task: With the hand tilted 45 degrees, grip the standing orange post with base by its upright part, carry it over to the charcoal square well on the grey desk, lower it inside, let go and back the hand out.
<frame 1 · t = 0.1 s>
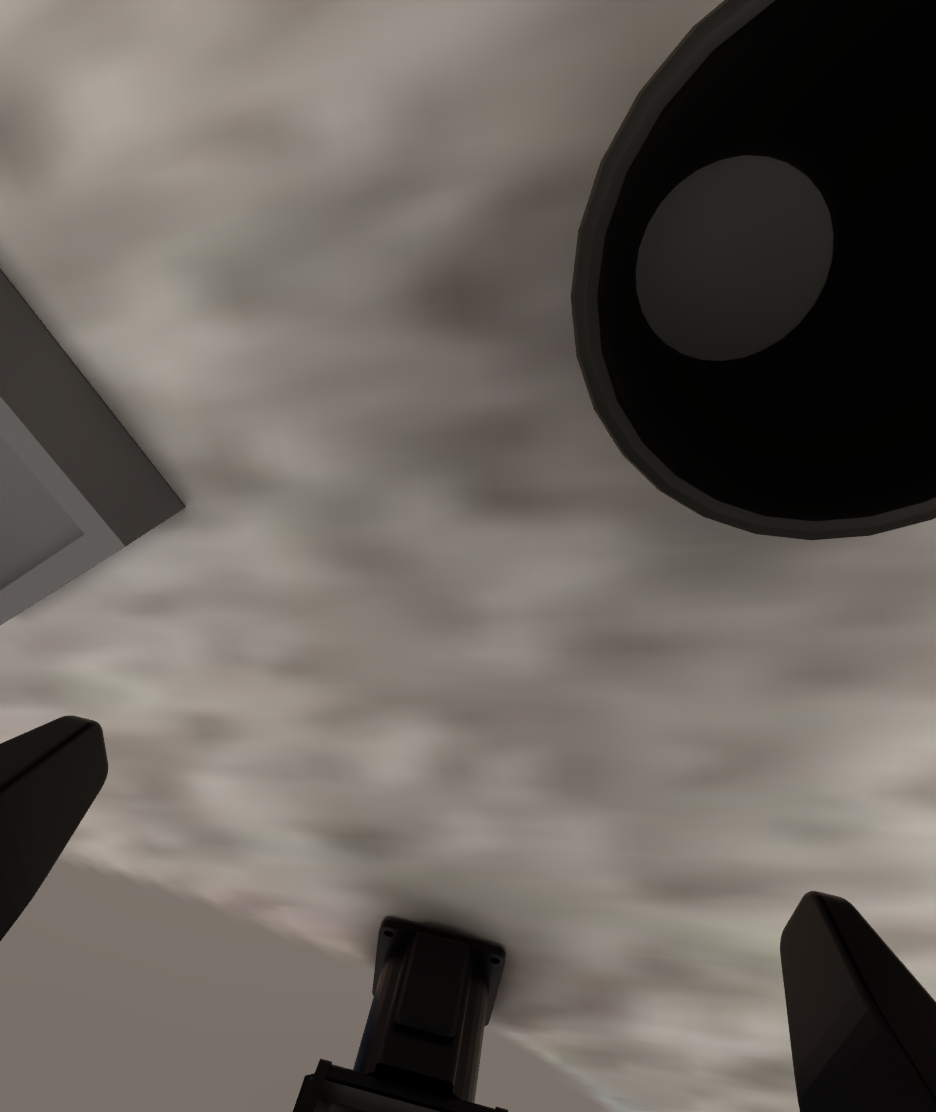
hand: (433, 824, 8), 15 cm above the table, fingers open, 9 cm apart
mug: (778, 307, 18), on the table
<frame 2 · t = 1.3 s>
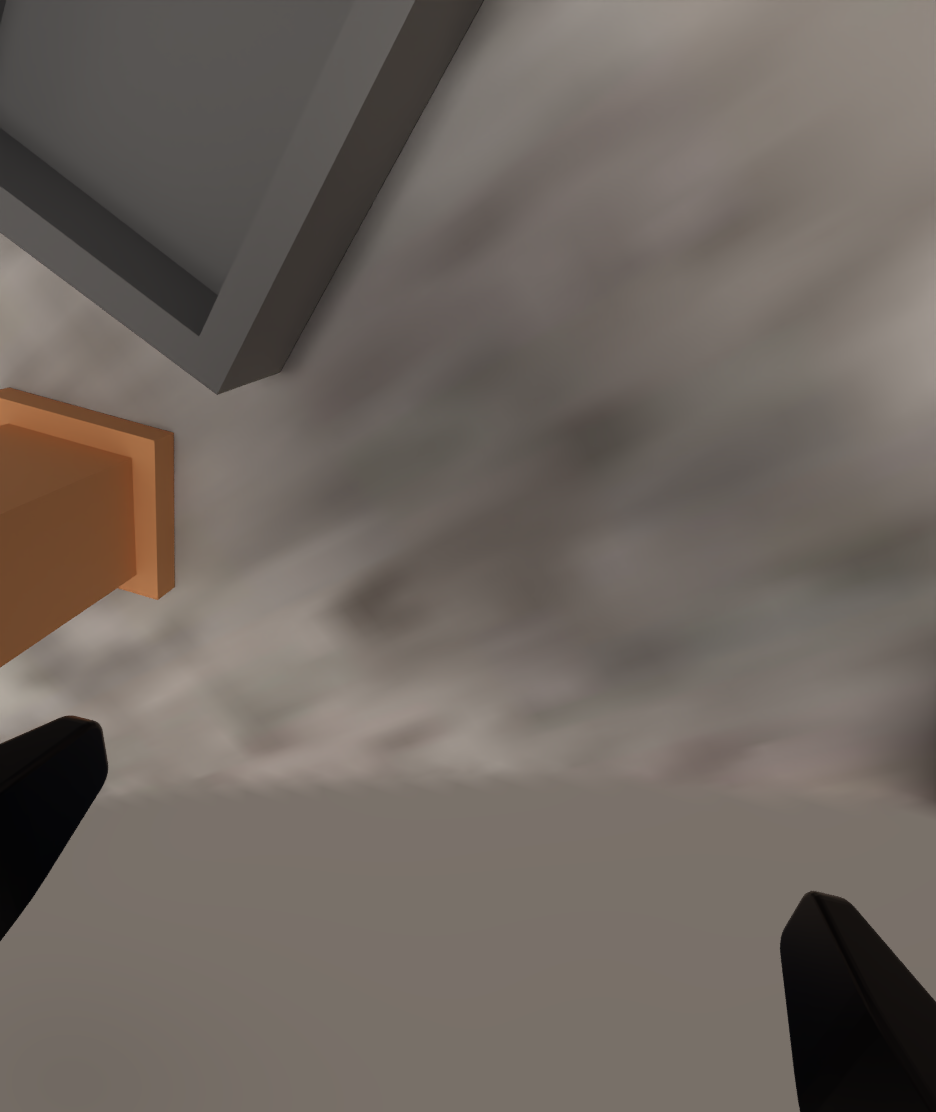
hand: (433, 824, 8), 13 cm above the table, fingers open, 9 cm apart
well: (197, 60, 16), on the table
orange post with base: (95, 492, 22), on the table
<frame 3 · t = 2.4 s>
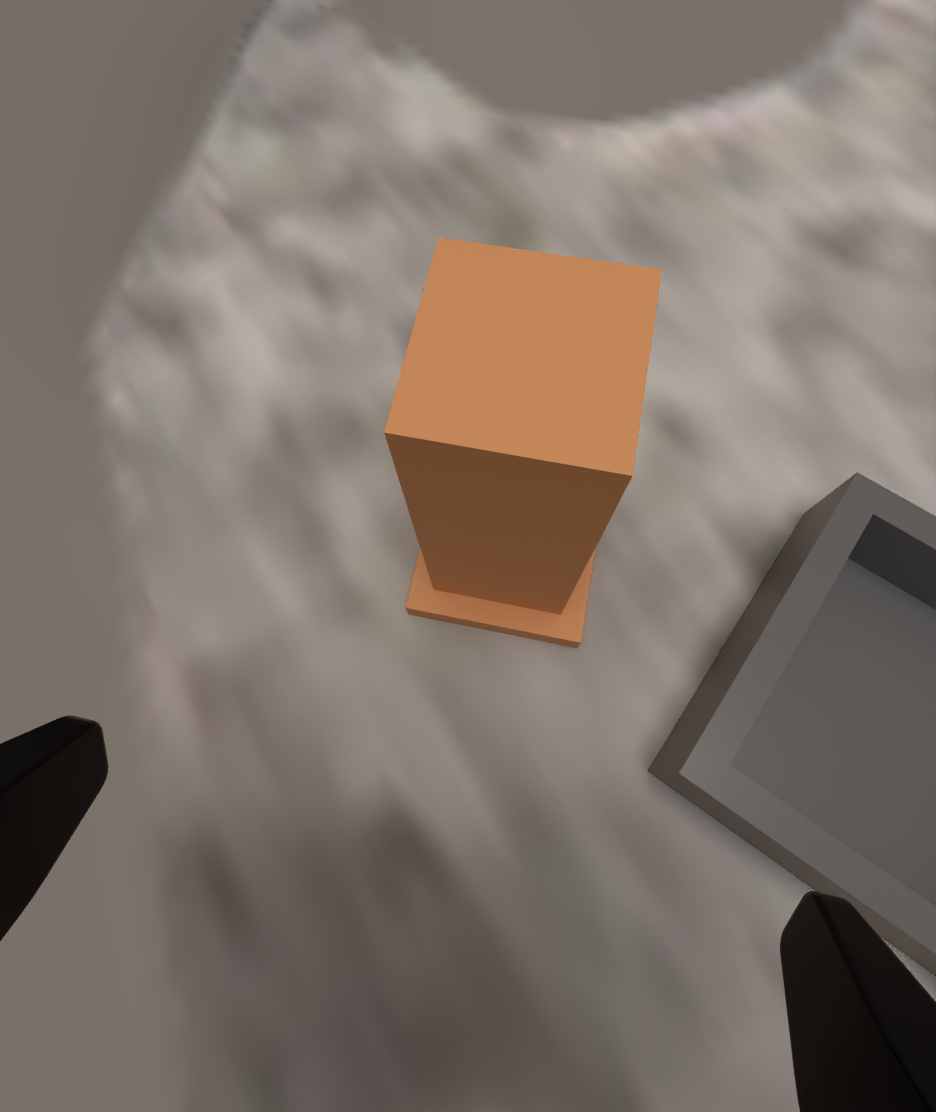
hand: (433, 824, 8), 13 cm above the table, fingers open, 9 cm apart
well: (880, 731, 21), on the table
orange post with base: (507, 550, 23), on the table
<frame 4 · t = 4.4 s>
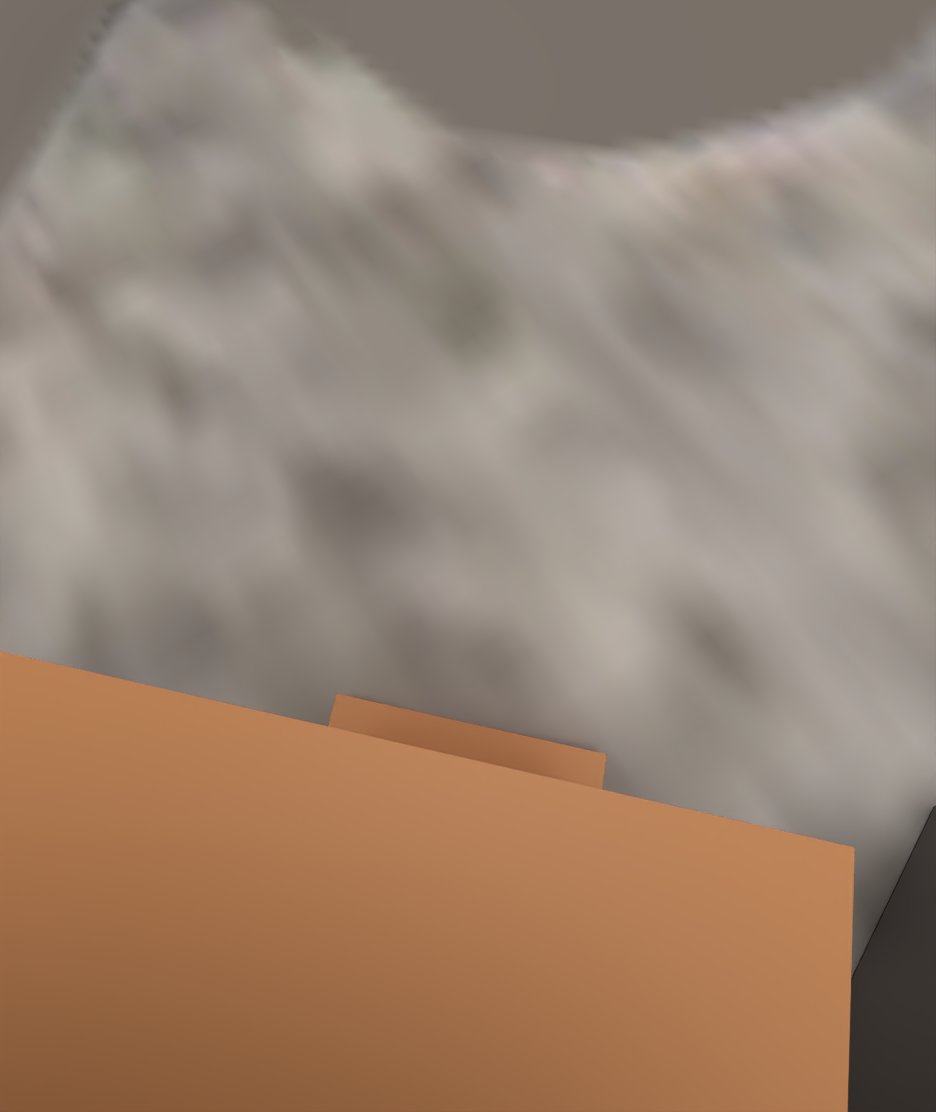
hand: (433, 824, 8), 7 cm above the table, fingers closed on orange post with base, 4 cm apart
orange post with base: (440, 865, 14), on the table, touching gripper
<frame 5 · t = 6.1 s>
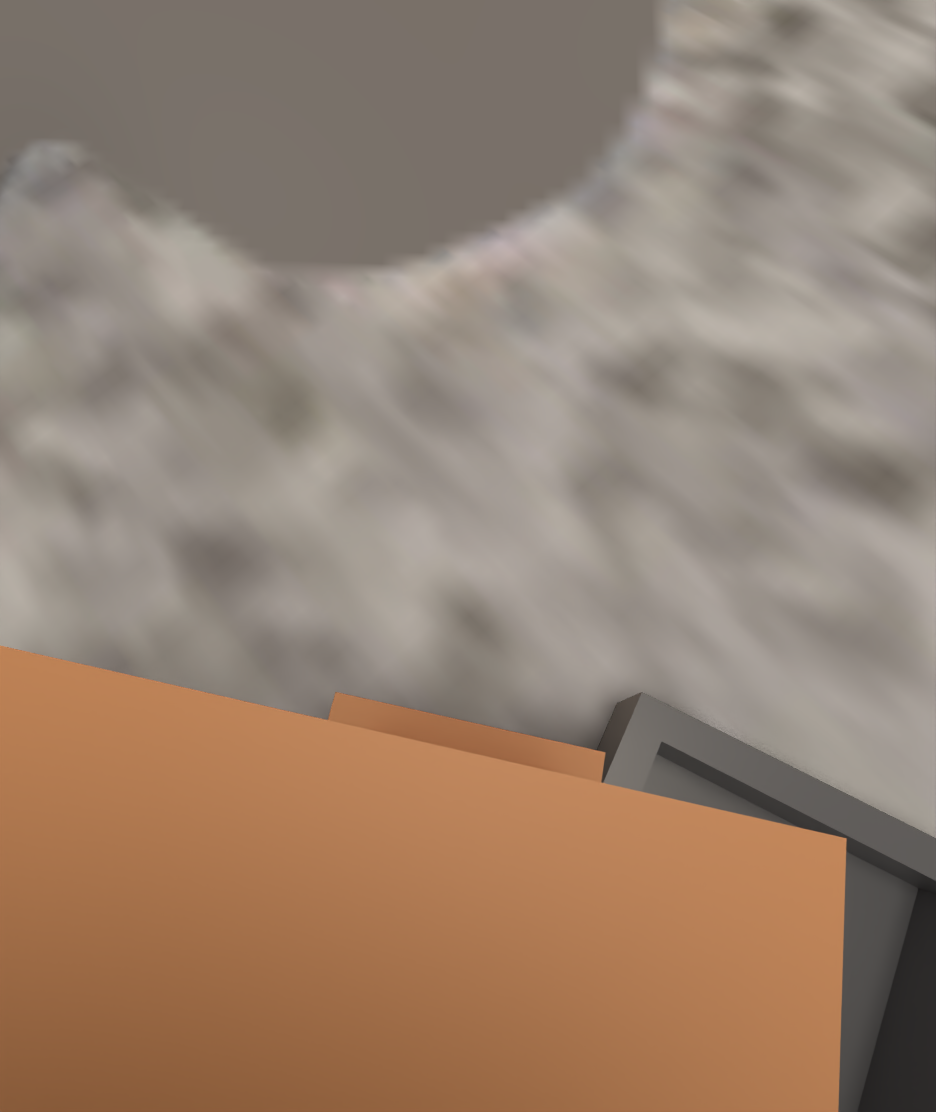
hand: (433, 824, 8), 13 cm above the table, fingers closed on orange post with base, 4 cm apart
well: (714, 955, 19), on the table
orange post with base: (439, 863, 14), point 7 cm above the table, touching gripper
when the fingers open (9 cm above the table, at t = 8.0 s): orange post with base drops 1 cm, resting on well.
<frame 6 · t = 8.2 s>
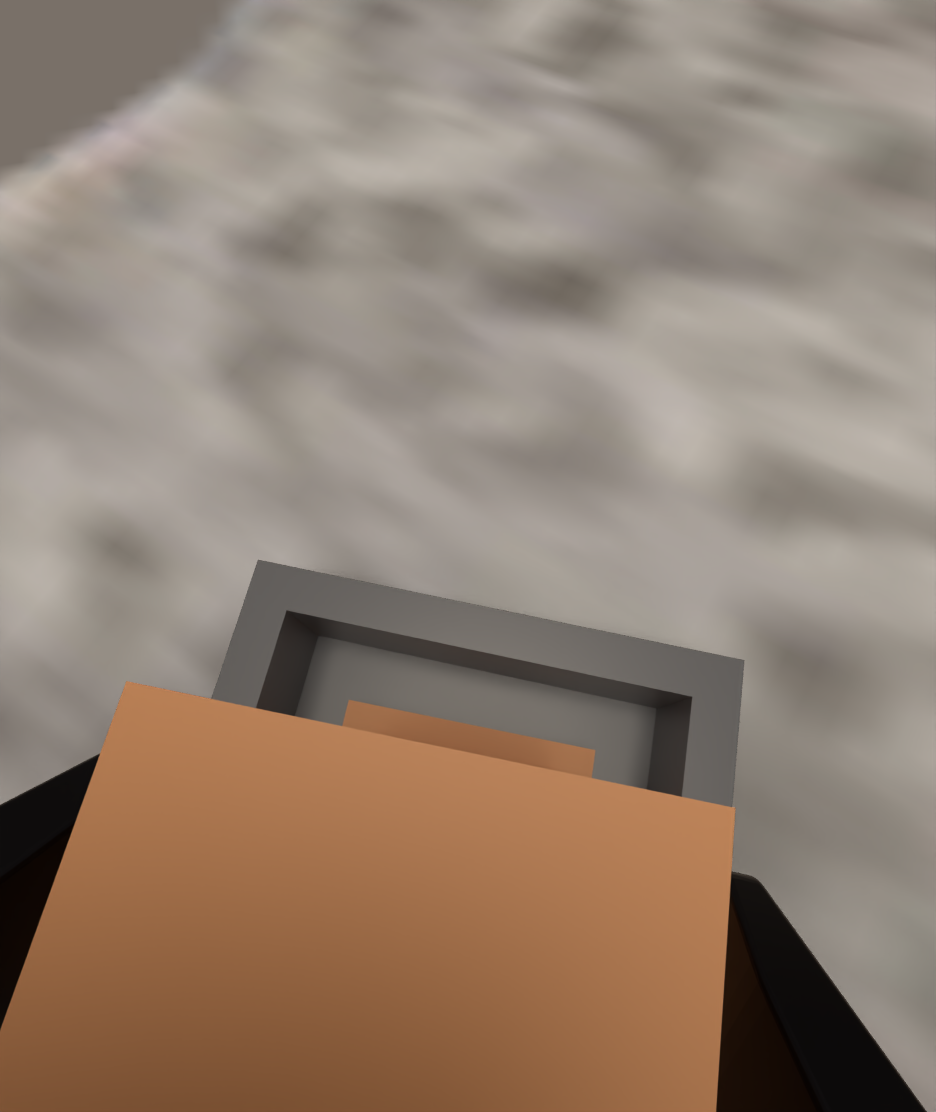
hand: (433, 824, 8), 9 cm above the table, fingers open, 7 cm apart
well: (446, 853, 16), on the table
orange post with base: (446, 854, 15), point 1 cm above the table, touching well
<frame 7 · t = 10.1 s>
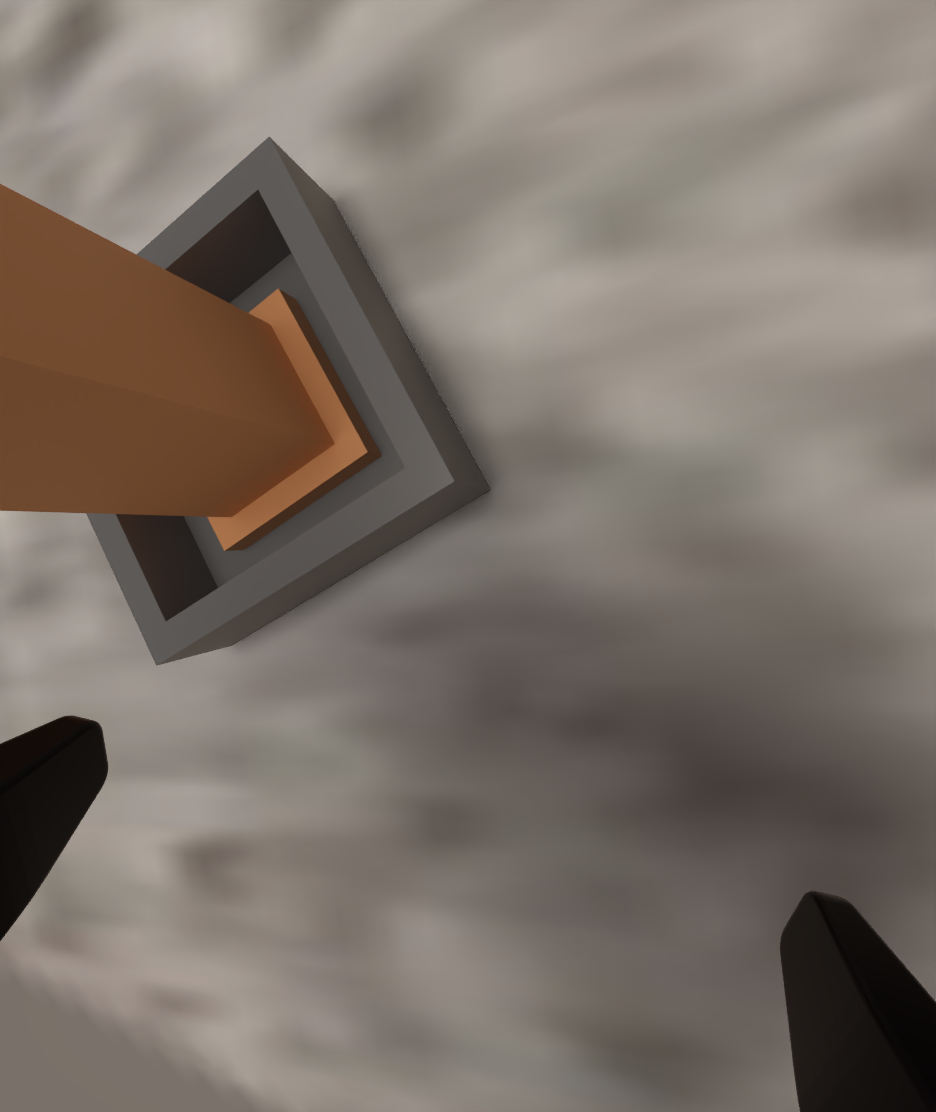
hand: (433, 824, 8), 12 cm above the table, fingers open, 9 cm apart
well: (279, 432, 22), on the table
orange post with base: (269, 427, 21), point 1 cm above the table, touching well
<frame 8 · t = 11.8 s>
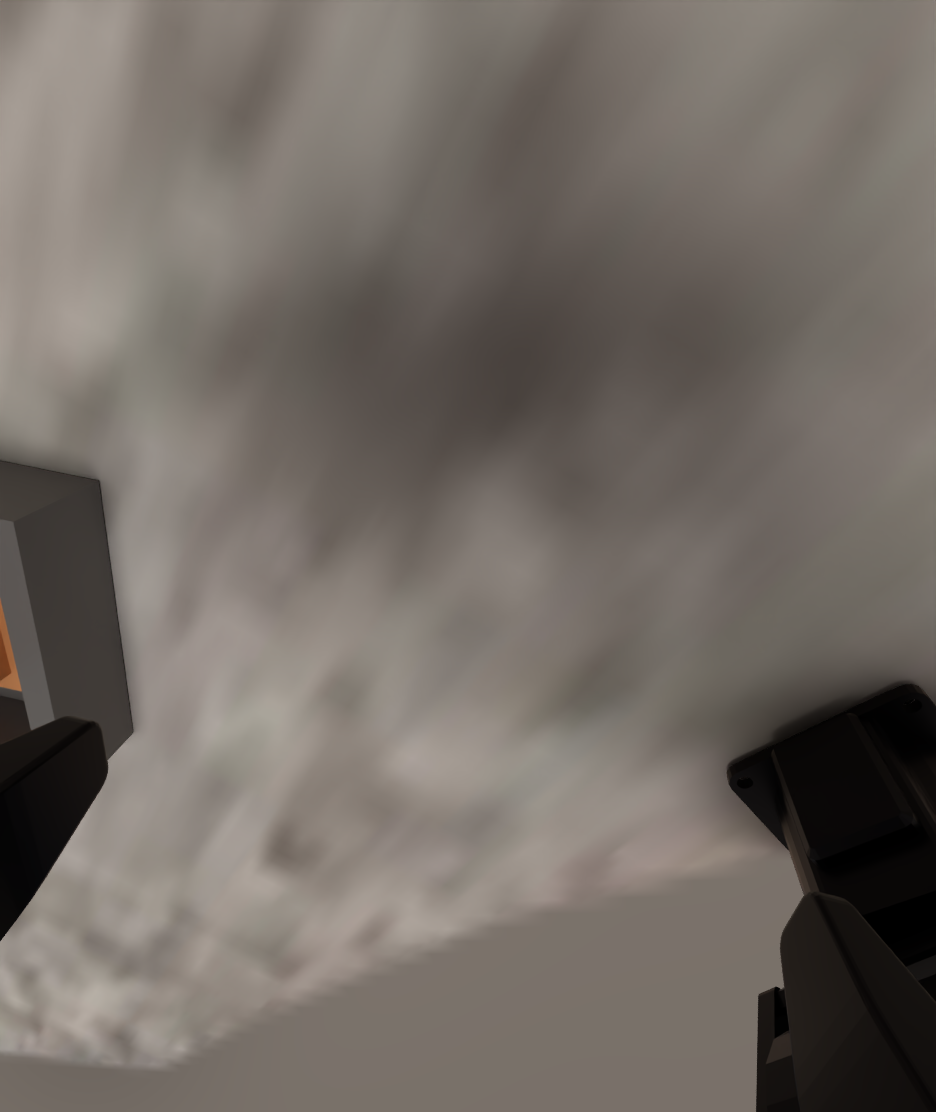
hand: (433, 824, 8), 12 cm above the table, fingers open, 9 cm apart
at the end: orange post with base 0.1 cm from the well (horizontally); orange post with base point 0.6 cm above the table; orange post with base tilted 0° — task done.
